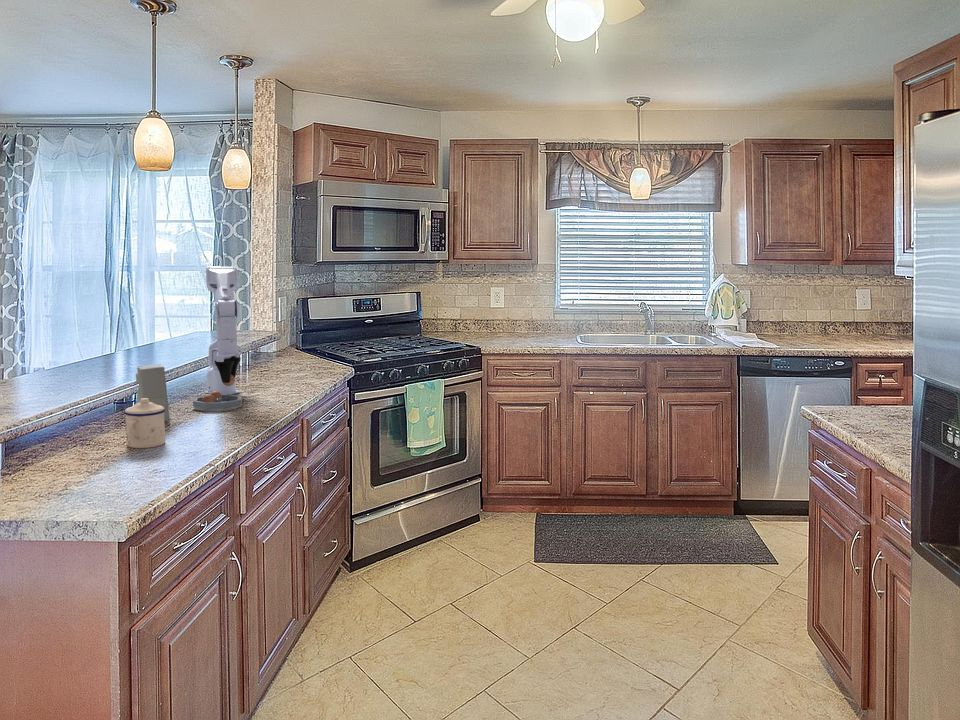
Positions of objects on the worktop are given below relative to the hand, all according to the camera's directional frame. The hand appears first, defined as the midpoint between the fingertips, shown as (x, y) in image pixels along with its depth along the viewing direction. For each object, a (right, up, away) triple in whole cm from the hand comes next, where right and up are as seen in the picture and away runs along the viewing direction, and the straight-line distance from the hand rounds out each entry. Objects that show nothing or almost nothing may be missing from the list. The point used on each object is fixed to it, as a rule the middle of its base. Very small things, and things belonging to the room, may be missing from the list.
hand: (228, 381), depth 215 cm
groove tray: (-4, -8, +1) cm, 9 cm away
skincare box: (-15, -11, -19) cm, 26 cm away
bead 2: (0, 0, 0) cm, 0 cm away
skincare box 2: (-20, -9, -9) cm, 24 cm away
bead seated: (-5, -6, -2) cm, 8 cm away
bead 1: (-5, -5, +3) cm, 8 cm away
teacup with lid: (-4, -15, -45) cm, 48 cm away
